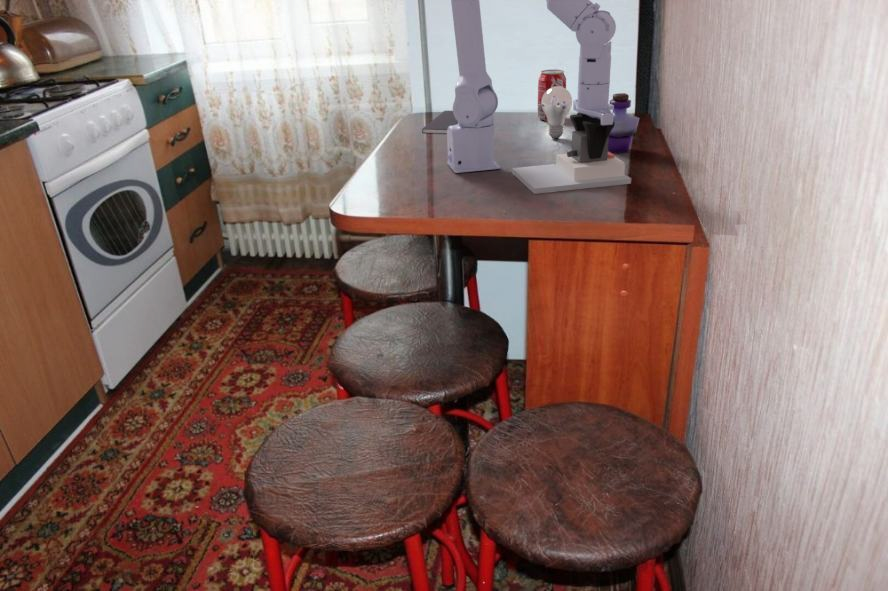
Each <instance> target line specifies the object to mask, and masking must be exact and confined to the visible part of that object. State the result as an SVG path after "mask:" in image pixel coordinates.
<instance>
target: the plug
mask: <svg viewBox="0 0 888 591" xmlns="http://www.w3.org/2000/svg"><path fill="white" fill-rule="evenodd" d="M608 139H609V135H608V138H607V140H606V143H605V146H604V149H603V153H602V156H601V158H596V159H590V157H589V152H588V140H587V135H586V131H585V130H583V131H575V130H573V131H572V135H571V150H567V151H566V154H567V157H572V158H573V159H575V160H576V161H578V162H579V163H589V162H595V161H605V160H607V155H608Z"/></svg>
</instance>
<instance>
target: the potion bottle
mask: <svg viewBox="0 0 888 591" xmlns="http://www.w3.org/2000/svg"><path fill="white" fill-rule="evenodd" d="M629 96H630V95H629V94H627V93H625V92H623V93H621V92H620V93H614V94H612V99H611V100H610V99H609V104H612V105H614V109H612V113H613V122H615V125H614V127H613V129H612V130H611V132H610V134H609V139H608V152H610V153H612V154H627V153H629V152H630V151H631V150H630V148H631V145H632V142H633V139H634V137H635V136H636V134H637V131H638V126H639V122H640V120H641V119H640V117H638V116H635V115H632V114H628V113H627V111H628V109H629V108H631V106H632V100H630V99H629Z"/></svg>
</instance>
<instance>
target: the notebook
mask: <svg viewBox="0 0 888 591" xmlns="http://www.w3.org/2000/svg"><path fill="white" fill-rule="evenodd" d="M457 124H458V121H457V120H456V118H455V116H454V114H453V110H444V111H442V112H441V113H440V114H439V115H438V116H437V115H436V117H435V118H433V119H432V120H431V121H430V122H429V123H427V124H426V125H425V126H424V127H422V128H421V131H422V134H423V133H424V134H447V129H448V127H449V126H453V125H457Z"/></svg>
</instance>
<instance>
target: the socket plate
mask: <svg viewBox="0 0 888 591" xmlns="http://www.w3.org/2000/svg"><path fill="white" fill-rule="evenodd" d="M555 157H556V158H555V164H556V167H557V168H558V169H559V170H561V171H562V172H563V173H565V174H566V175H567V176H568V177H570V178H571V179H572V180H574V181H579V180H588V179H598V178H608V177H618V176H624V174H625V171H626V170H625V169H626V168H625V167H626V162H624V161H623V160H621V159H619V158H618V157H616V156H615V153H610V152H608V155H607V160H605V161H595V162H589V163H579V162H578V161H576V160H575V159H573V158H572V157H567V153H560V154H559V153H558V154H555Z"/></svg>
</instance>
